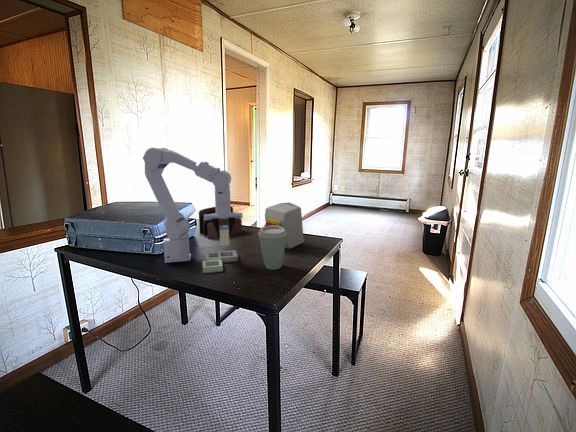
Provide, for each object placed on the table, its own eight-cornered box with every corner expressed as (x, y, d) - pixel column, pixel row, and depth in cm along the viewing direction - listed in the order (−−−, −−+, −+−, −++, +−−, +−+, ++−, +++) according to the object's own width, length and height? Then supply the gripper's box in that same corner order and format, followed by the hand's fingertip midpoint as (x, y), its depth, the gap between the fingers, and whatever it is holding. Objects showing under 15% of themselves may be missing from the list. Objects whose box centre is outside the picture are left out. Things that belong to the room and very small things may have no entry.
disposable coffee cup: (292, 268, 111) (292, 229, 108) (265, 274, 106) (265, 233, 102) (278, 259, 120) (278, 223, 117) (254, 264, 115) (253, 226, 111)
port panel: (206, 264, 114) (206, 258, 114) (206, 257, 122) (205, 251, 121) (237, 261, 118) (237, 255, 117) (235, 254, 125) (235, 249, 125)
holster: (202, 273, 106) (202, 267, 106) (202, 265, 113) (202, 261, 112) (222, 271, 108) (222, 265, 108) (221, 264, 115) (221, 259, 114)
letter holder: (199, 235, 154) (197, 208, 151) (232, 229, 167) (232, 204, 164) (208, 239, 147) (206, 211, 144) (242, 232, 160) (241, 206, 157)
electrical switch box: (260, 248, 140) (254, 208, 134) (284, 238, 149) (279, 200, 143) (280, 256, 130) (275, 213, 124) (304, 245, 139) (300, 204, 133)
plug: (220, 245, 115) (219, 228, 113) (219, 243, 118) (219, 225, 117) (229, 245, 116) (228, 227, 114) (228, 242, 119) (228, 225, 118)
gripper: (203, 205, 108) (205, 241, 111) (243, 203, 112) (243, 238, 115) (203, 202, 115) (205, 236, 118) (240, 200, 119) (241, 233, 122)
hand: (224, 236), depth 117 cm, fingers closed on plug, 3 cm apart
